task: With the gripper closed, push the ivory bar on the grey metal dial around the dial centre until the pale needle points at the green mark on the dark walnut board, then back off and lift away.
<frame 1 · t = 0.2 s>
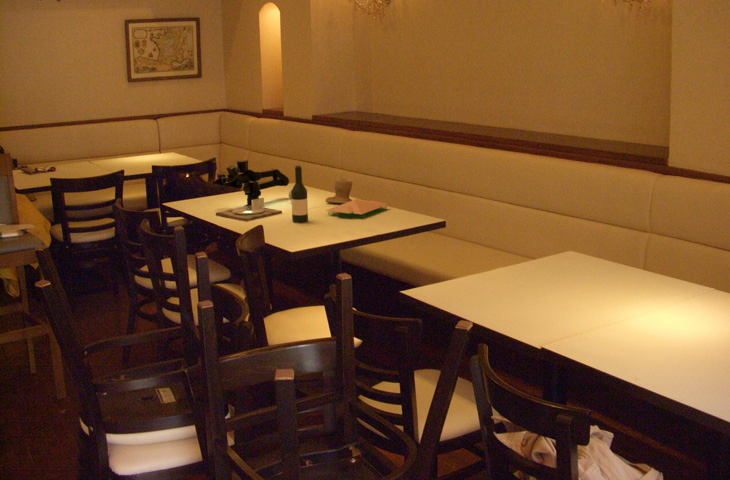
hand: (218, 183, 415), 17 cm above the table, tool horizontal, fingers open, 9 cm apart
wine bottle: (300, 221, 395), on the table
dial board: (248, 214, 414), on the table
house: (356, 213, 415), on the table
donut: (296, 202, 445), on the table
dial: (248, 206, 413), point 5 cm above the table, hinge at 0.0°
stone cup: (340, 203, 442), on the table
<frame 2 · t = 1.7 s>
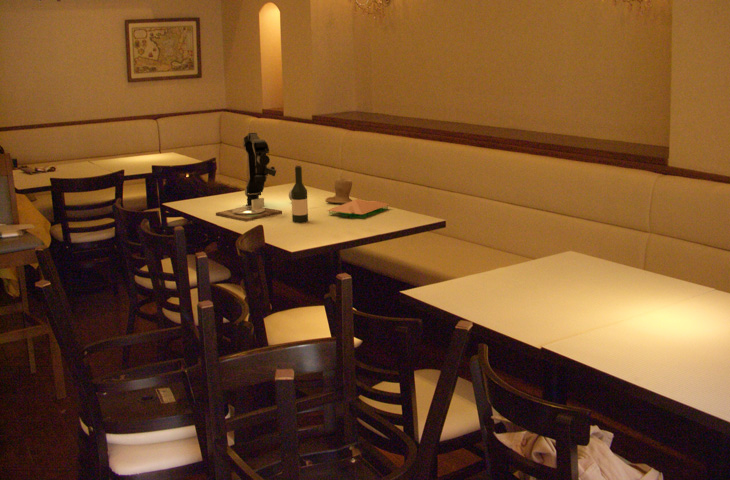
hand: (262, 191, 412), 13 cm above the table, tool pointing down, fingers open, 6 cm apart
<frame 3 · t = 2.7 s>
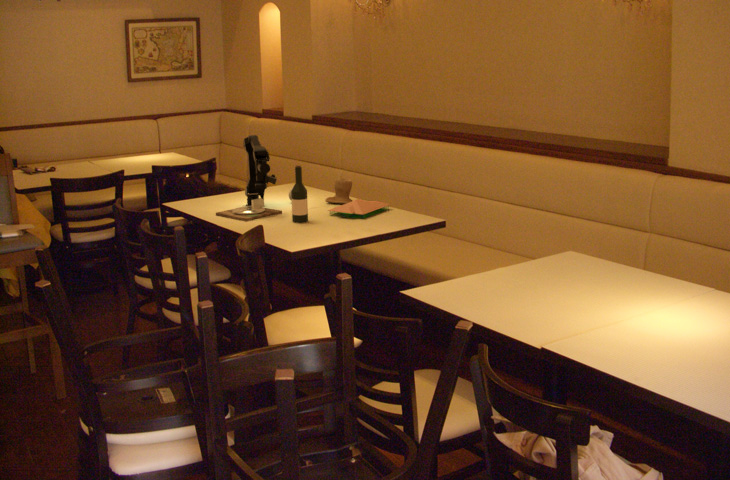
hand: (262, 198, 413), 9 cm above the table, tool pointing down, fingers closed
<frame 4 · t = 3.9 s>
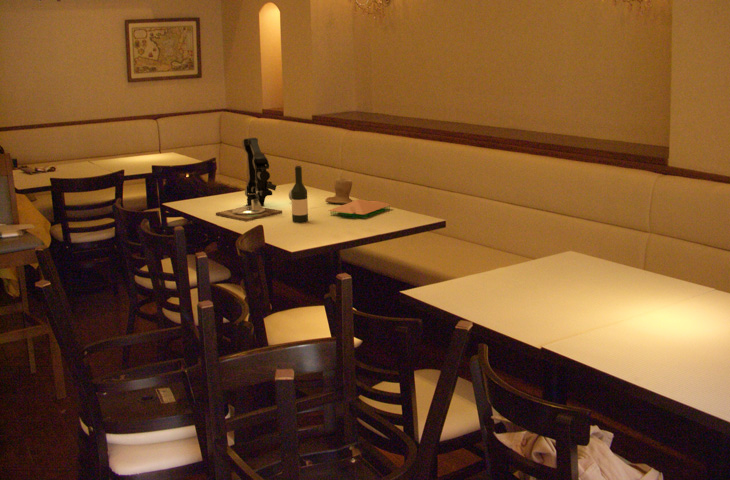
hand: (262, 206, 417), 4 cm above the table, tool pointing down, fingers closed
dial: (248, 206, 413), point 5 cm above the table, hinge at 0.7°, touching gripper
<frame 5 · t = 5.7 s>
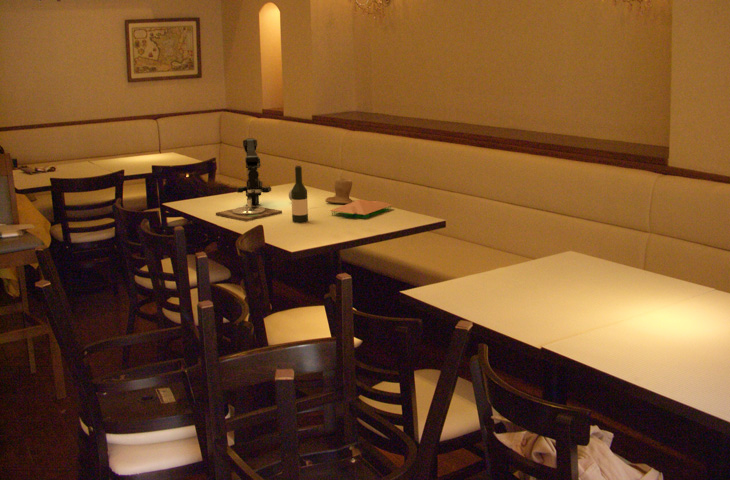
hand: (255, 204, 421), 4 cm above the table, tool pointing down, fingers closed
dial: (248, 206, 413), point 5 cm above the table, hinge at 44.1°, touching gripper
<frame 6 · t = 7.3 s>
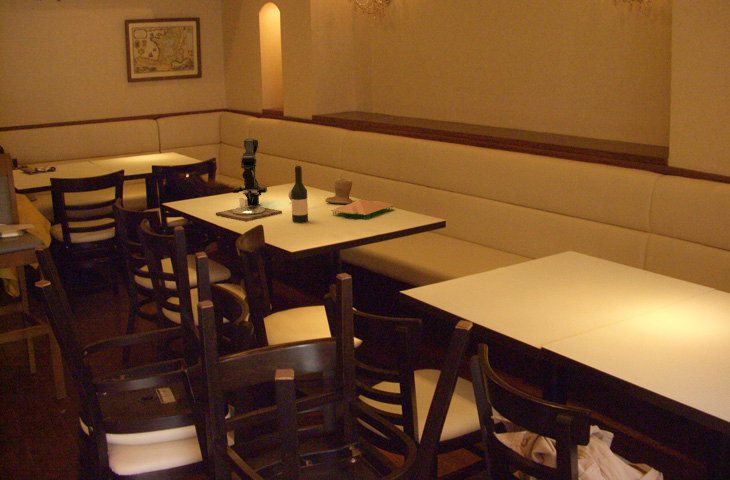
hand: (250, 204, 421), 4 cm above the table, tool pointing down, fingers closed
dial: (248, 206, 413), point 5 cm above the table, hinge at 72.5°
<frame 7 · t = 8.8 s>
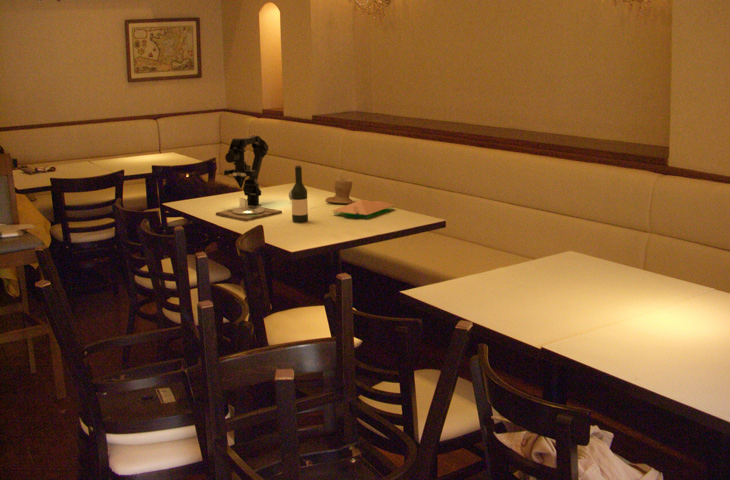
hand: (241, 187, 424), 13 cm above the table, tool pointing down, fingers closed
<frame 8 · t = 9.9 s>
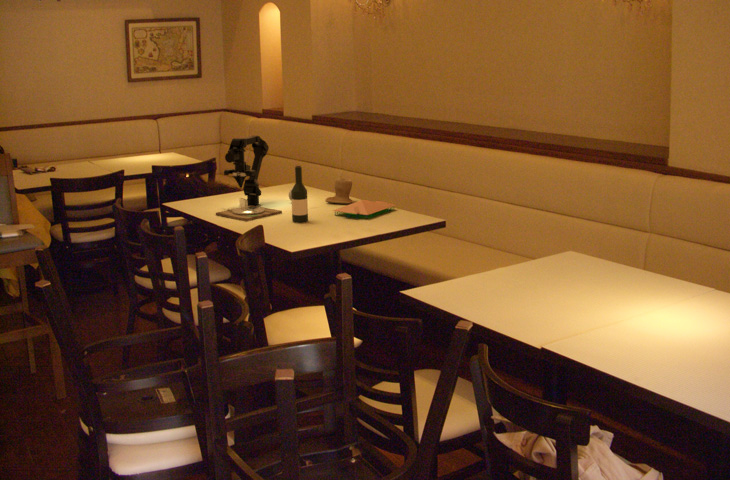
hand: (240, 187, 424), 13 cm above the table, tool pointing down, fingers closed
at the end: dial at +72° (first picture: +0°); the gripper is holding nothing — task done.
